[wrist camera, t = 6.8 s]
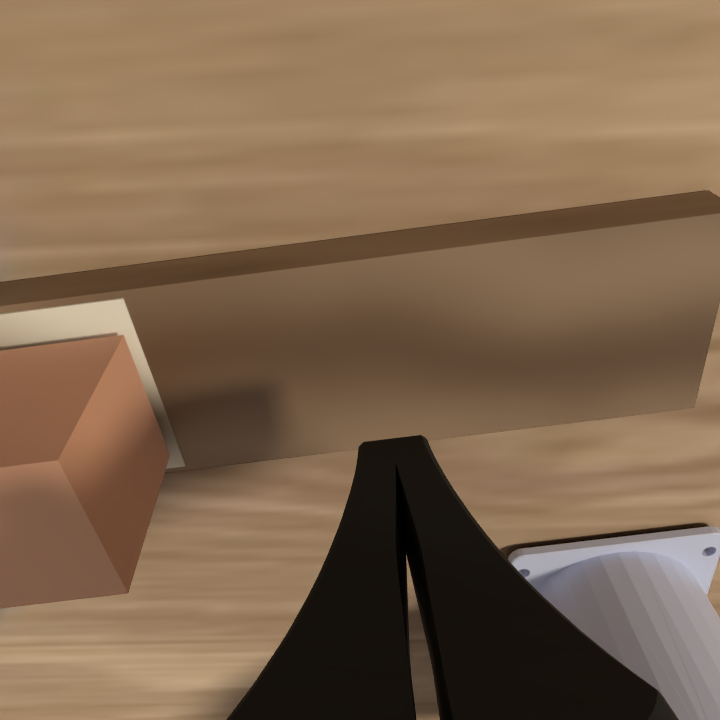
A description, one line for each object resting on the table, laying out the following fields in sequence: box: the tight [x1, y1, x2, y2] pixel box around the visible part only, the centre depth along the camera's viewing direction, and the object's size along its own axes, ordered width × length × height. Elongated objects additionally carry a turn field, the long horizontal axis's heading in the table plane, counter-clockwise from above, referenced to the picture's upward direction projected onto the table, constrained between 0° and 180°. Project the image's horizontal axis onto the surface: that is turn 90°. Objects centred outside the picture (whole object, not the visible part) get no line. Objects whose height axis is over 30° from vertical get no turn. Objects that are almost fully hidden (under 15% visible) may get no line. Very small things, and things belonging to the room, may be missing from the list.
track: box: [0, 191, 720, 473], centre depth 17 cm, size 6×22×2 cm, turn 97°
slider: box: [0, 335, 170, 608], centre depth 14 cm, size 4×4×4 cm
